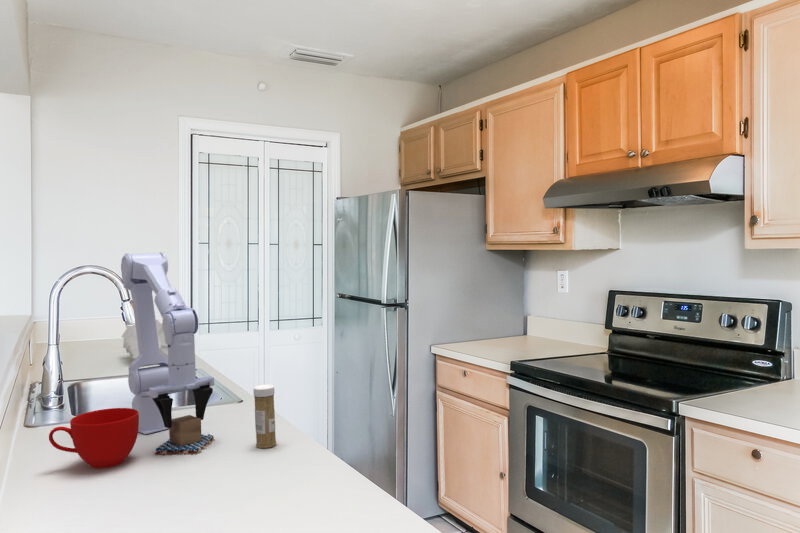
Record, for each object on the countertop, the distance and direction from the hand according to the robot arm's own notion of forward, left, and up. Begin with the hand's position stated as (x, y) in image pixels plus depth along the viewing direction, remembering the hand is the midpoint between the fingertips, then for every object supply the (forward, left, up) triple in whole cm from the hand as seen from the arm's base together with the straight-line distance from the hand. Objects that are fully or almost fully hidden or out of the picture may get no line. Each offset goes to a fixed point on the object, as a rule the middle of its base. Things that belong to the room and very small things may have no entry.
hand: (184, 423), depth 135 cm
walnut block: (0, 0, -4) cm, 4 cm away
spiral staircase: (-115, +44, -6) cm, 123 cm away
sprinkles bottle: (+14, +12, -6) cm, 19 cm away
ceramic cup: (-4, -17, -6) cm, 19 cm away
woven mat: (0, 0, -6) cm, 6 cm away
